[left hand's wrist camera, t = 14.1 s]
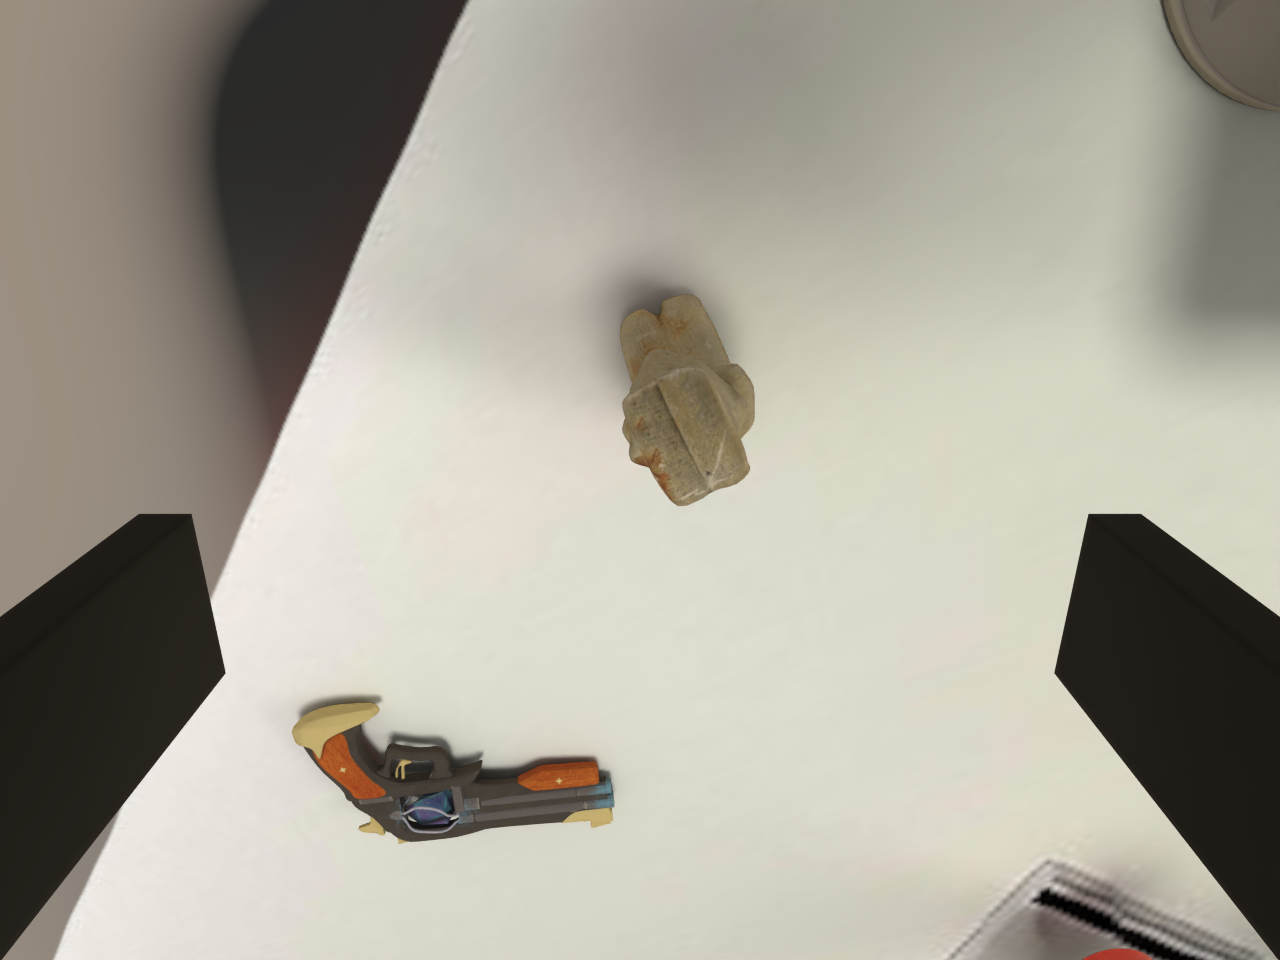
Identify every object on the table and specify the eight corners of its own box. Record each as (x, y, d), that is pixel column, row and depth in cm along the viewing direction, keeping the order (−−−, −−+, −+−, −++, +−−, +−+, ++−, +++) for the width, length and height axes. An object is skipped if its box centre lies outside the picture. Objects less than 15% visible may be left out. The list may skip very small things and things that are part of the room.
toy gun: (282, 725, 50) (312, 868, 53) (602, 693, 51) (616, 835, 53) (297, 702, 53) (325, 839, 55) (601, 671, 53) (615, 808, 56)
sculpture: (709, 276, 43) (743, 341, 29) (754, 404, 45) (805, 521, 31) (602, 317, 44) (585, 399, 30) (652, 441, 46) (657, 571, 32)
